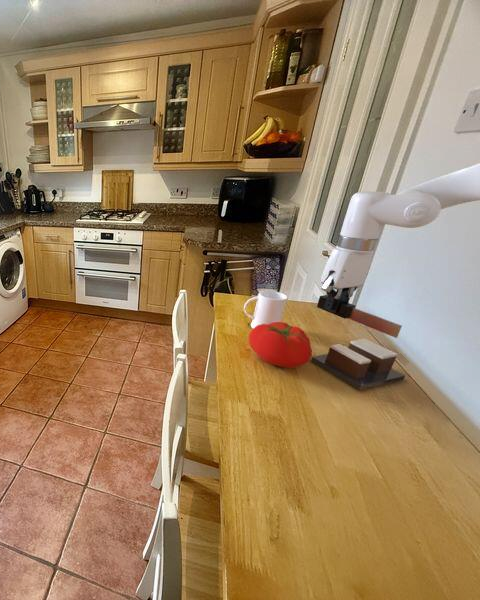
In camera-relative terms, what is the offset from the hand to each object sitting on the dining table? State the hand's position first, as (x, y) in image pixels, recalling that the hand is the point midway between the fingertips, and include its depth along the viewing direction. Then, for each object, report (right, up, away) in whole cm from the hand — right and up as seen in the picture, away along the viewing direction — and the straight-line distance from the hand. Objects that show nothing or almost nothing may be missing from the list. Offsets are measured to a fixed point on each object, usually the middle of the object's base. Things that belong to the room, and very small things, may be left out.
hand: (334, 309), depth 87 cm
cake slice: (-1, -15, -4) cm, 16 cm away
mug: (-9, -7, +21) cm, 23 cm away
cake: (+7, -14, -2) cm, 16 cm away
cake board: (+4, -16, -2) cm, 17 cm away
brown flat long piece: (+1, -3, -5) cm, 6 cm away
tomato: (-14, -14, +3) cm, 20 cm away
